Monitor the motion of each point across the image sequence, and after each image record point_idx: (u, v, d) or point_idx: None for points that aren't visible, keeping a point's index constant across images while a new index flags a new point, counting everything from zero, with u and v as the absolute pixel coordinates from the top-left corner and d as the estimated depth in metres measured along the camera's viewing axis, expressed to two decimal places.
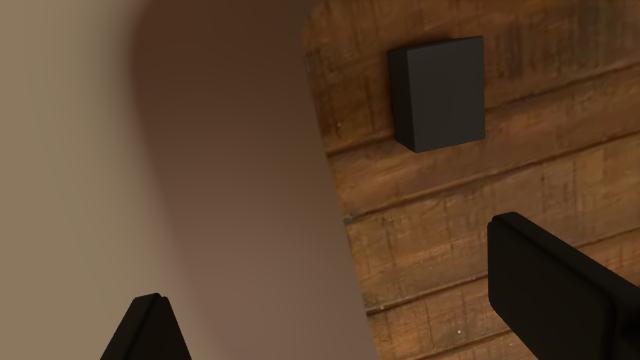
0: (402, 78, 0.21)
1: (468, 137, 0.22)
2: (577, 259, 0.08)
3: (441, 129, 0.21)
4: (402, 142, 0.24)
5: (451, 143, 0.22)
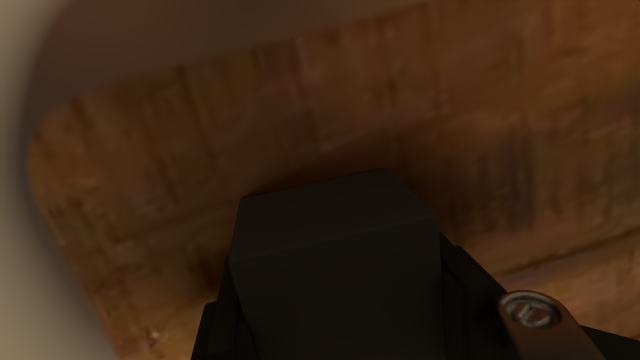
0: None
1: None
2: (451, 254, 0.08)
3: None
4: None
5: None
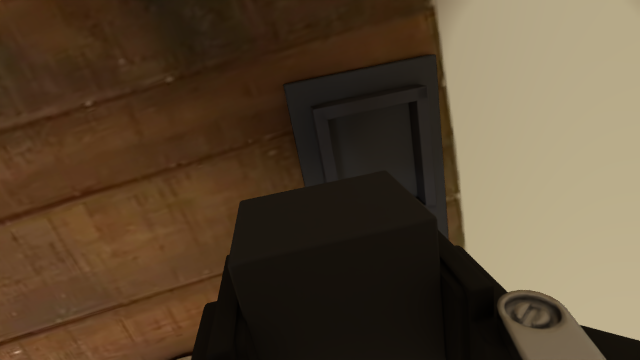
0: None
1: None
2: (450, 255, 0.08)
3: None
4: None
5: None
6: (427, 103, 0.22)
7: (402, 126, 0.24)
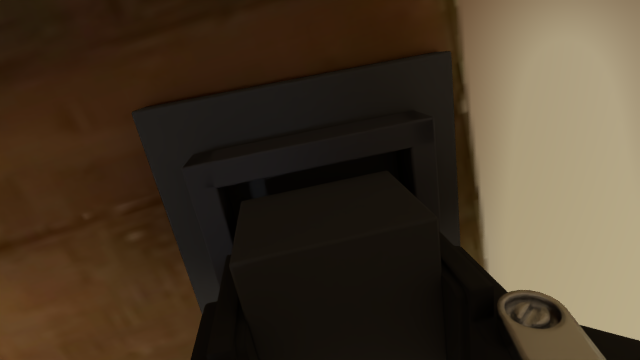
0: None
1: None
2: (450, 255, 0.08)
3: None
4: None
5: None
6: (433, 153, 0.11)
7: None
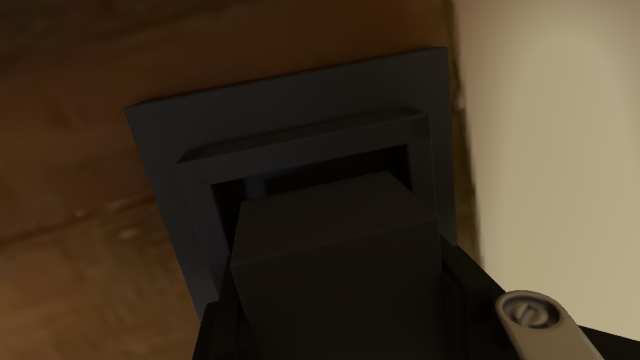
0: None
1: None
2: (449, 255, 0.08)
3: None
4: None
5: None
6: (429, 149, 0.11)
7: None
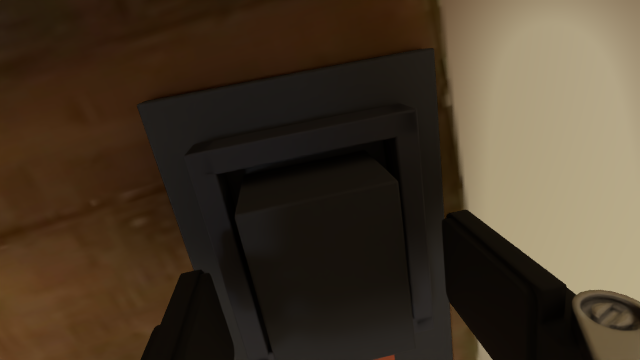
0: None
1: (382, 350, 0.11)
2: (511, 253, 0.08)
3: (328, 343, 0.11)
4: None
5: None
6: (416, 142, 0.12)
7: None
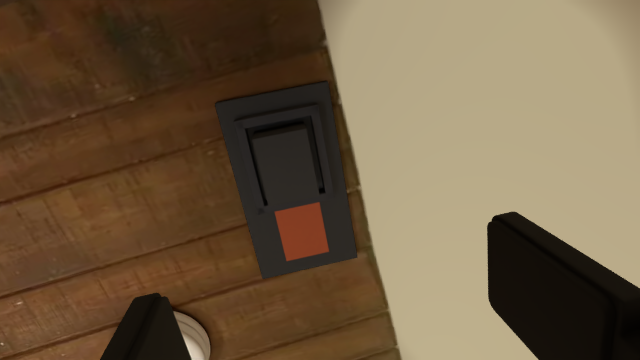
0: None
1: (306, 195, 0.31)
2: (577, 259, 0.08)
3: (285, 190, 0.30)
4: None
5: (294, 199, 0.31)
6: (319, 117, 0.31)
7: None
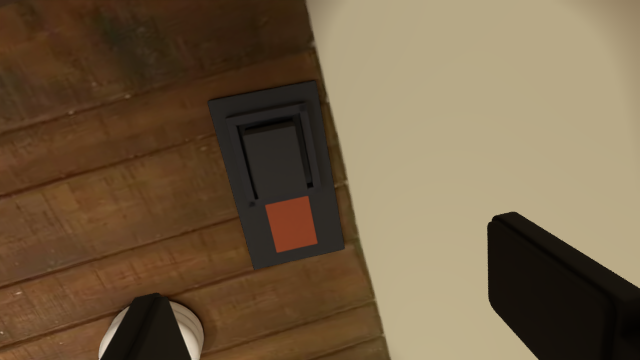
0: None
1: (295, 189, 0.32)
2: (577, 259, 0.08)
3: (274, 184, 0.32)
4: None
5: (283, 193, 0.32)
6: (307, 115, 0.32)
7: None
